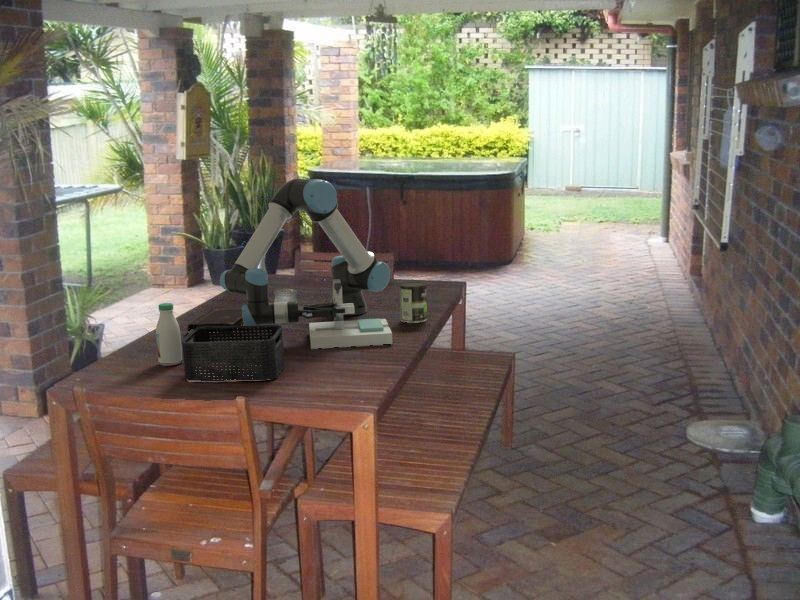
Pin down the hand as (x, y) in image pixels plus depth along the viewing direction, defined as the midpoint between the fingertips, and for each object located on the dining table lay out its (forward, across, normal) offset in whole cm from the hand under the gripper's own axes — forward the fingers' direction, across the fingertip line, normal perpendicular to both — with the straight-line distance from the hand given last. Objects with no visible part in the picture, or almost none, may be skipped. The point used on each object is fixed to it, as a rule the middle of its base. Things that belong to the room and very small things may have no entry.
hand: (353, 308), depth 322 cm
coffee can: (+24, -23, -11) cm, 35 cm away
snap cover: (+6, 0, -7) cm, 9 cm away
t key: (-6, 0, -10) cm, 11 cm away
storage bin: (-40, +35, -11) cm, 54 cm away
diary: (-48, -30, -12) cm, 58 cm away
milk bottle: (-62, +18, -11) cm, 66 cm away
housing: (-2, 0, -11) cm, 11 cm away
